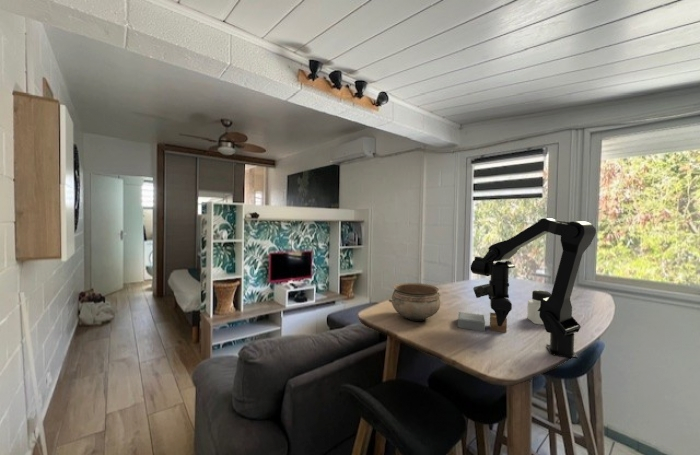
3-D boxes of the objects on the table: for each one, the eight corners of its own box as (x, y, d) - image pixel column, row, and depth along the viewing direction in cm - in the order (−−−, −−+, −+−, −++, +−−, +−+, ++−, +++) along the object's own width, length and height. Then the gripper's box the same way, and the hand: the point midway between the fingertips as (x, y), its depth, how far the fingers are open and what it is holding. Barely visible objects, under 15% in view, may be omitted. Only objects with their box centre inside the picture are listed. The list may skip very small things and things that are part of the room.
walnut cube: (506, 332, 101) (506, 318, 101) (490, 330, 103) (491, 316, 103) (504, 327, 106) (505, 314, 106) (489, 325, 108) (490, 312, 107)
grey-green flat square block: (484, 331, 102) (484, 322, 102) (457, 327, 105) (457, 318, 105) (483, 322, 110) (483, 314, 110) (458, 319, 114) (458, 311, 114)
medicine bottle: (555, 325, 108) (556, 294, 107) (534, 324, 109) (535, 292, 109) (546, 319, 115) (547, 289, 114) (526, 317, 116) (527, 288, 116)
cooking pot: (404, 331, 101) (405, 297, 100) (375, 315, 118) (376, 285, 117) (456, 320, 112) (457, 289, 112) (423, 307, 129) (423, 280, 129)
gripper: (474, 272, 115) (473, 311, 116) (475, 281, 98) (474, 327, 99) (506, 274, 111) (505, 314, 112) (512, 285, 94) (511, 332, 94)
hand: (498, 321), depth 104 cm, fingers open, 9 cm apart
